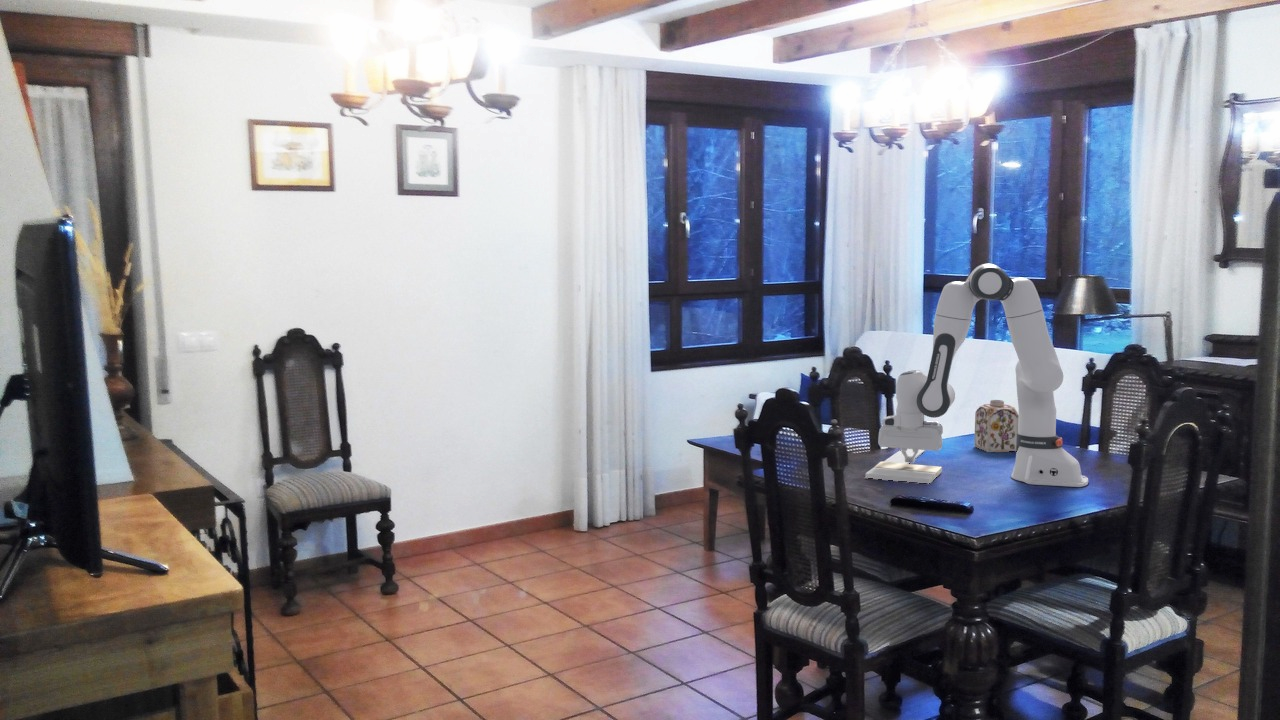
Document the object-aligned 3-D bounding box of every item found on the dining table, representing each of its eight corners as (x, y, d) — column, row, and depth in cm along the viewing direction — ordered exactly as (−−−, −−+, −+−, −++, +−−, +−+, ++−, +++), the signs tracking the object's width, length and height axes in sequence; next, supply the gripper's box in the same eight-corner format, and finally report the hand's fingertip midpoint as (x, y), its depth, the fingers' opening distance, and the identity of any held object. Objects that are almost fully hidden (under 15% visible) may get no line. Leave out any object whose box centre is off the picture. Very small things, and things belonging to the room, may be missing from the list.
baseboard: (874, 467, 348) (904, 470, 343) (874, 458, 348) (904, 461, 343) (897, 451, 375) (925, 454, 370) (897, 443, 374) (925, 446, 370)
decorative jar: (973, 447, 379) (974, 398, 377) (1003, 446, 380) (1005, 397, 379) (987, 453, 367) (989, 403, 366) (1019, 452, 369) (1020, 402, 367)
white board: (936, 478, 328) (936, 473, 327) (929, 484, 319) (929, 479, 319) (873, 472, 337) (873, 467, 337) (865, 478, 328) (865, 473, 328)
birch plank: (941, 471, 335) (941, 466, 335) (936, 477, 328) (936, 472, 328) (880, 466, 344) (880, 461, 344) (874, 471, 337) (874, 466, 337)
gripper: (944, 420, 333) (944, 462, 334) (882, 417, 343) (881, 458, 344) (940, 423, 327) (940, 466, 329) (876, 419, 337) (876, 461, 339)
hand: (909, 462), depth 337 cm, fingers closed
